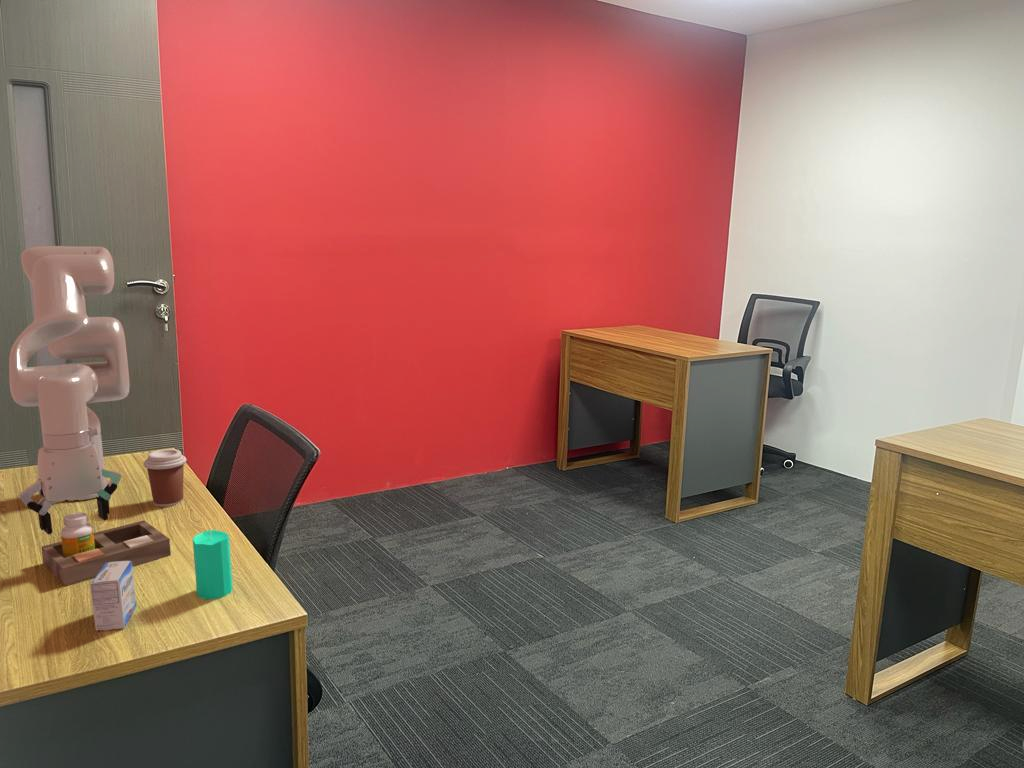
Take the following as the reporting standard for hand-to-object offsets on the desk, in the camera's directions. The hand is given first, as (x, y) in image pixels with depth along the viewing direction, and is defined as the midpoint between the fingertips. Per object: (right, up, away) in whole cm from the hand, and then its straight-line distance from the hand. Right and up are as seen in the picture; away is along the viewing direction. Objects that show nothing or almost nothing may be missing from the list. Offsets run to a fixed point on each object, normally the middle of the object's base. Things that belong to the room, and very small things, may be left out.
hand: (76, 524), depth 146 cm
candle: (+30, -11, -9) cm, 33 cm away
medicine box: (+17, -13, -18) cm, 28 cm away
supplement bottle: (0, -8, +1) cm, 8 cm away
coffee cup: (+2, -1, +34) cm, 34 cm away
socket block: (+4, -7, +3) cm, 9 cm away
